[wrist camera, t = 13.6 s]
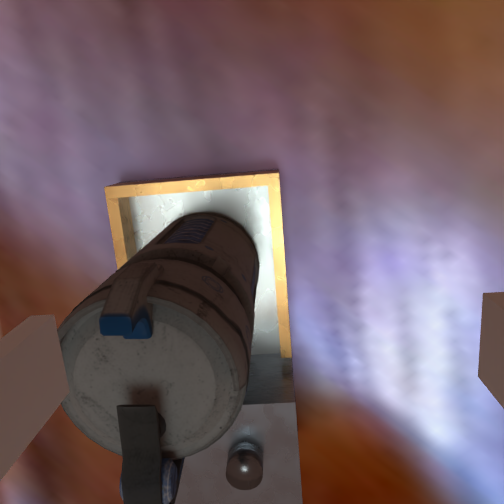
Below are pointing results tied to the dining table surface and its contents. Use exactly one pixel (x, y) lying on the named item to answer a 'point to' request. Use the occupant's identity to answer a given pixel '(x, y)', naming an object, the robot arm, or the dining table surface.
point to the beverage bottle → (164, 352)
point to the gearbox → (264, 335)
